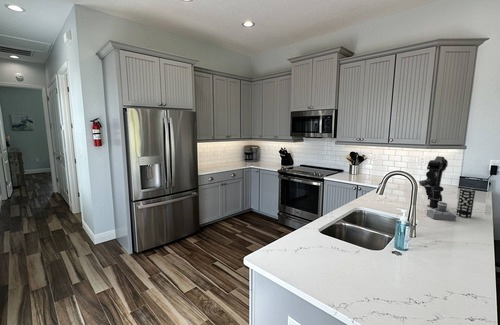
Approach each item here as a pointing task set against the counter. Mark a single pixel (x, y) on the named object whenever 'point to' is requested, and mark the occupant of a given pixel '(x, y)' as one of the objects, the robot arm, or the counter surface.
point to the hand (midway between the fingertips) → (430, 197)
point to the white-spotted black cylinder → (465, 203)
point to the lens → (442, 207)
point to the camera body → (441, 215)
